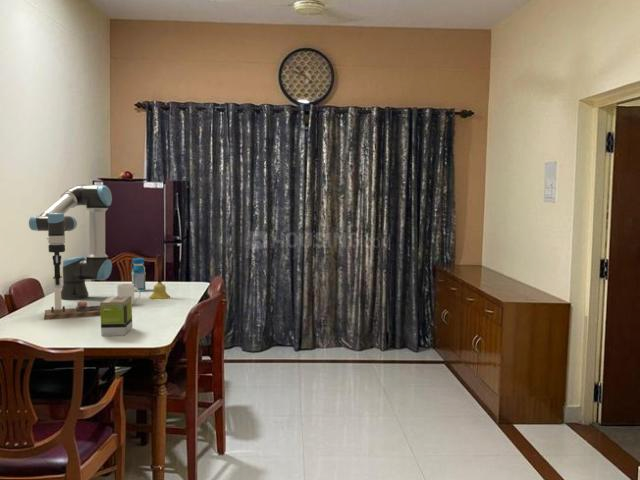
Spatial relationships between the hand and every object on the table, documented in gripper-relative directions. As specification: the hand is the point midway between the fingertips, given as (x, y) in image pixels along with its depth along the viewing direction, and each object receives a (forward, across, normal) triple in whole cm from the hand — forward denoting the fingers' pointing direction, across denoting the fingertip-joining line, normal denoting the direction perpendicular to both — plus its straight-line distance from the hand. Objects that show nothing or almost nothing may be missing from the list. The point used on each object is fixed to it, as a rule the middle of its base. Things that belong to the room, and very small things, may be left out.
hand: (57, 291), depth 298 cm
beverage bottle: (+11, -59, +45) cm, 75 cm away
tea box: (+12, +53, +24) cm, 60 cm away
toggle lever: (+8, +7, 0) cm, 11 cm away
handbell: (+11, -29, +54) cm, 62 cm away
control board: (+11, +7, +12) cm, 18 cm away
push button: (+7, +7, +11) cm, 15 cm away
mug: (+11, -13, +35) cm, 39 cm away
